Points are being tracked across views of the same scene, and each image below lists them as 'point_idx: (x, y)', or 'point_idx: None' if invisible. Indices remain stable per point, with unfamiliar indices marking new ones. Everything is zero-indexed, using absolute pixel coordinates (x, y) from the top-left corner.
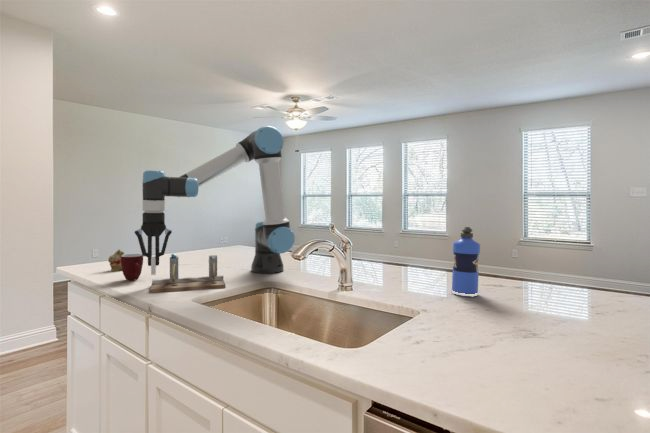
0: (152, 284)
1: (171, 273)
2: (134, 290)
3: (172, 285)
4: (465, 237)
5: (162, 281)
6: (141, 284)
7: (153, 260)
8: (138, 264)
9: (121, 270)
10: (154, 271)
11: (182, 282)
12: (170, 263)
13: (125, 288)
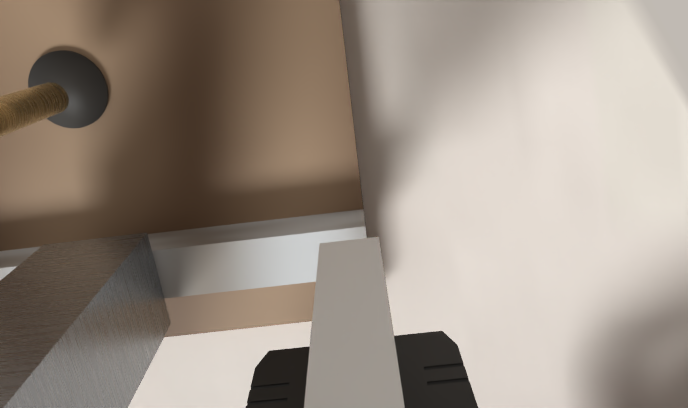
0: (356, 192)
1: (95, 267)
2: (529, 84)
3: (90, 77)
4: None
5: (246, 231)
6: (494, 338)
7: (349, 385)
8: None
9: None
10: (331, 266)
11: (28, 239)
12: (26, 362)
13: (633, 194)
